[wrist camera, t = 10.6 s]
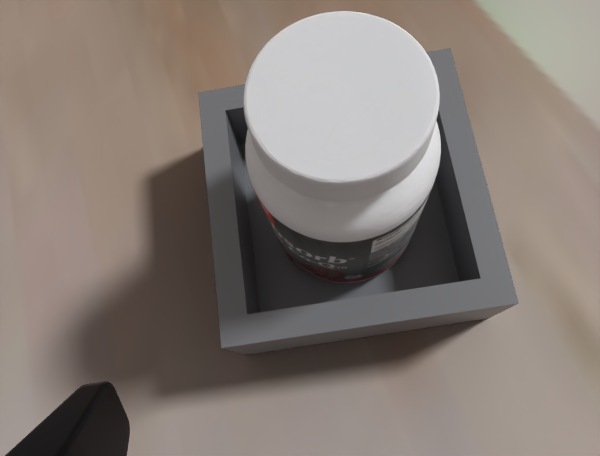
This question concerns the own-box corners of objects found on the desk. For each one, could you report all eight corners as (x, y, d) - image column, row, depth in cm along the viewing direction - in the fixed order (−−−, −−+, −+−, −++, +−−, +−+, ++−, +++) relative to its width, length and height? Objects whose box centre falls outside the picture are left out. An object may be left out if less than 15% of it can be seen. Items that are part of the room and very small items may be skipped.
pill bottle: (248, 226, 22) (170, 105, 13) (335, 131, 23) (324, -48, 13) (353, 316, 21) (353, 255, 11) (442, 210, 21) (514, 71, 12)
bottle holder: (488, 318, 21) (518, 303, 17) (244, 355, 21) (221, 347, 18) (434, 101, 24) (450, 48, 20) (222, 138, 24) (198, 92, 21)
